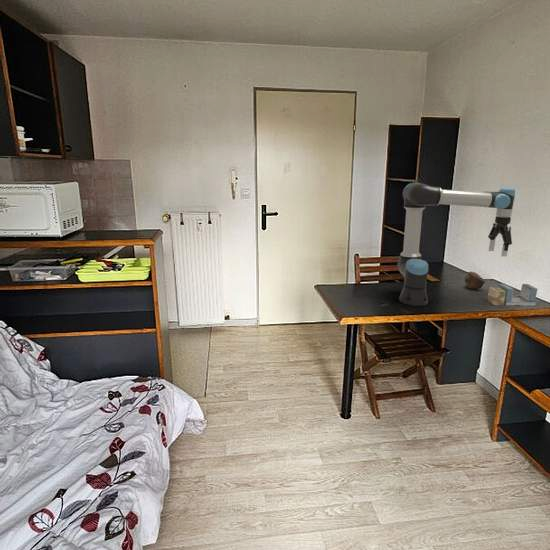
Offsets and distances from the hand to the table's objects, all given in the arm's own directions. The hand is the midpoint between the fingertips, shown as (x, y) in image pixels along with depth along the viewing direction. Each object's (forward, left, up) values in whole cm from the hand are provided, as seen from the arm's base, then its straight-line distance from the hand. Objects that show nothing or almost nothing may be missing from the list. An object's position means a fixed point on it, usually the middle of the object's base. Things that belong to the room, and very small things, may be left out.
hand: (497, 253), depth 228 cm
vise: (+9, -10, -26) cm, 29 cm away
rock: (-4, +15, -26) cm, 30 cm away
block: (-3, -11, -26) cm, 28 cm away
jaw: (+3, -10, -24) cm, 26 cm away
